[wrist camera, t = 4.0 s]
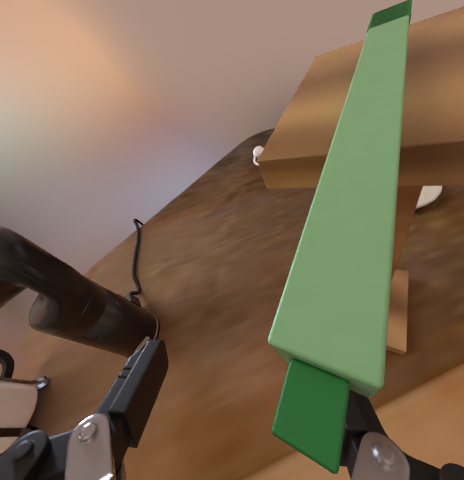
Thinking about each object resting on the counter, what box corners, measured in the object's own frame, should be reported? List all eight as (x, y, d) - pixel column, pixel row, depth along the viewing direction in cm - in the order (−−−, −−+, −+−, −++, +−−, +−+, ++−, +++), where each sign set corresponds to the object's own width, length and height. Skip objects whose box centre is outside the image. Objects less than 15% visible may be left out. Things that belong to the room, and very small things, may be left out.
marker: (368, 481, 4) (381, 512, 2) (266, 418, 5) (237, 417, 3) (405, 38, 13) (412, -2, 12) (369, 49, 14) (372, 13, 13)
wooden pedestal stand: (403, 363, 28) (647, 122, 5) (309, 331, 34) (240, 162, 12) (406, 271, 34) (523, -15, 12) (326, 259, 41) (303, 60, 18)
